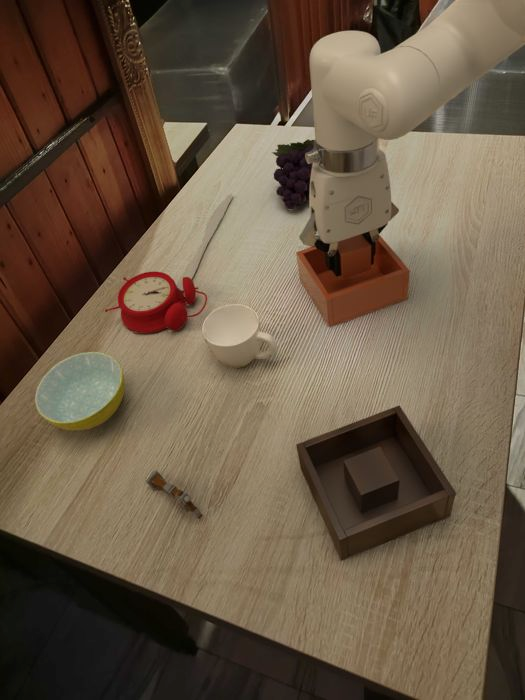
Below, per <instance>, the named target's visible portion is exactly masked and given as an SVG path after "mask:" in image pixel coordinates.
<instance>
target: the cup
mask: <svg viewBox="0 0 525 700" xmlns="http://www.w3.org/2000/svg"><path fill="white" fill-rule="evenodd" d="M261 327H262V326H261V321H260V317H259V315H258V313H257V312H256V311H255V310H254V308H252V307H250V306H248V305H246V304H242V303H241V304H240V303H229V304H226V305H225V304H224V305H222V306H219V307H217V308H215V309H214V310H212V311H211V312H210V313H209V314H208V315H207V316H206V317H205V319H204V320H203V323H202V326H201V331H202V336H203V338H204V341H205V344H206V346H207V349H208V350H209V352H210V353H211V354H212V355H213V357H215V359H217V361H219V362H220V363H222V364H223V365H225V366H228V367H231V368H234V369H235V368H237V369H239V368H243V367H246V366H248V365H250V363H252V361H254V359H255V360H257V359H258V360H265V359H267V358H270V357H271V356H273V355H274V353H275V352H276V351H277V342H276V340H275V338H274V337H273V335H271V334H269V333H267V332H265V331H262V328H261ZM262 341H264V342H266V344H267V345H268V347H269V348H268V349H266V350H265V351H260V347H261V343H262Z"/></svg>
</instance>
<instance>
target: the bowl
mask: <svg viewBox="0 0 525 700" xmlns="http://www.w3.org/2000/svg"><path fill="white" fill-rule="evenodd" d="M124 394H125V376H124V372H123V369H122V366H121V365H120V363H119V361H118V360H116V358H114V357H113V356H111V355H109V354H107V353H104V352H100V351H99V352H98V351H86V352H85V351H84V352H80V353H77V354H74V355H71V356H68V357H66V358H64V359H62V360H61V361H58V363H56V364H55V365H53V367H51V368H50V369H49V370H48V371H47V372H46V373H45V374H44V376H43V377H42V378H41V380H40V382H39V384H38V385H37V387H36V391H35V397H34V403H35V408H36V410H37V411H38V414H39V415H40V416H41V417H43V419H44V420H46V421H47V422H49V423H50V424H51V425H53V426H55V427H57V428H60V429H63V430H67V431H84V430H89V429H92V428H95V427H98V426H99V425H102V424H103V423H104V422H106V421H108V420H109V419H110V418H111V417H112V416H113V415H114V414H115V412H116V411H117V410H118V409H119V407H120V404H121V402H122V400H123V397H124Z"/></svg>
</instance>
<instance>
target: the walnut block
mask: <svg viewBox="0 0 525 700" xmlns="http://www.w3.org/2000/svg"><path fill="white" fill-rule="evenodd" d="M343 463H344V477H345V481H346V483H347V485H348V487H349V489H350V491H351V493H352V495H353V497H354V499H355V501H356V503H357V505H358V507H359V509H360V511H361V513H363V512H365V511H368V510H370V509H373V508H375V507H378V506H380V505H383V504H385V503H388V502H390V501H393V500H395V499H398V493H399V482H400V479H399V478H398V476H397V474H396V472H395V471H394V469H393V467H392V466H391V464H390V462H389V460H388V459H387V457H386V455H385V453H384V452H383V450H382V448H381V447H380V446H379V447H377V448H374V449H371V450H369V451H366V452H364V453H361V454H359V455H356V456H353V457H351V458H348V459H346V460H343Z"/></svg>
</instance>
